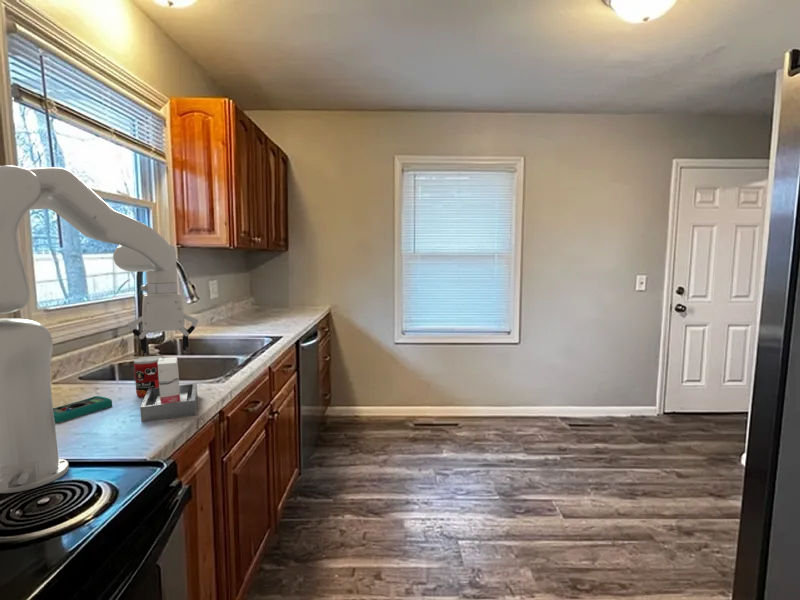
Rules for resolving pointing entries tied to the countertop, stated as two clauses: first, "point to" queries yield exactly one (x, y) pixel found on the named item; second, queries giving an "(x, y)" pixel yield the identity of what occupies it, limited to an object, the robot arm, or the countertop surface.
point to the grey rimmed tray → (169, 404)
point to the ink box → (168, 380)
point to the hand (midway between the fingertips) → (165, 351)
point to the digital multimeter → (81, 408)
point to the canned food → (146, 374)
